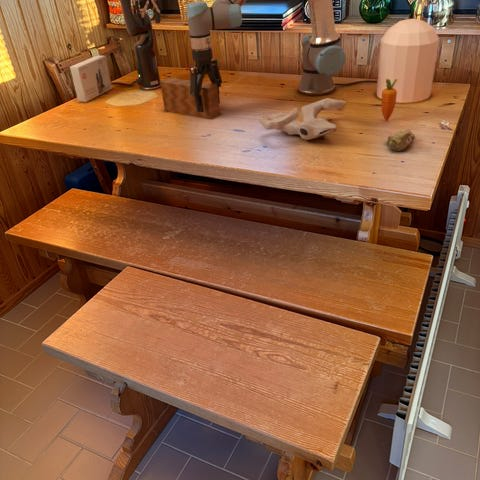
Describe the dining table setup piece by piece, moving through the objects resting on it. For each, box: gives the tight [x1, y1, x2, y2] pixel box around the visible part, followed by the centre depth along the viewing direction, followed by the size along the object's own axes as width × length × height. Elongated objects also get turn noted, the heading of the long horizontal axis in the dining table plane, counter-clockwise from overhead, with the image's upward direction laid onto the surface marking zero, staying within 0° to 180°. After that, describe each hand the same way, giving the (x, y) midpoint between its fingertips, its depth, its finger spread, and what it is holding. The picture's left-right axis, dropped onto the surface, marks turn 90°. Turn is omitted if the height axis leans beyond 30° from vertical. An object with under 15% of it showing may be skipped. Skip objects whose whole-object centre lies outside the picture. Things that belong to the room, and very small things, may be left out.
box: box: [160, 77, 221, 120], centre depth 188 cm, size 25×6×12 cm, turn 54°
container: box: [375, 18, 440, 104], centre depth 179 cm, size 21×21×28 cm
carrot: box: [380, 79, 397, 122], centre depth 161 cm, size 5×5×15 cm
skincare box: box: [69, 54, 113, 103], centre depth 218 cm, size 21×6×16 cm, turn 158°
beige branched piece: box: [259, 97, 347, 141], centre depth 160 cm, size 28×26×12 cm
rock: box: [387, 129, 416, 152], centre depth 146 cm, size 11×6×10 cm
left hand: (150, 25), depth 192 cm, fingers open, 8 cm apart
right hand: (208, 107), depth 184 cm, fingers open, 10 cm apart
